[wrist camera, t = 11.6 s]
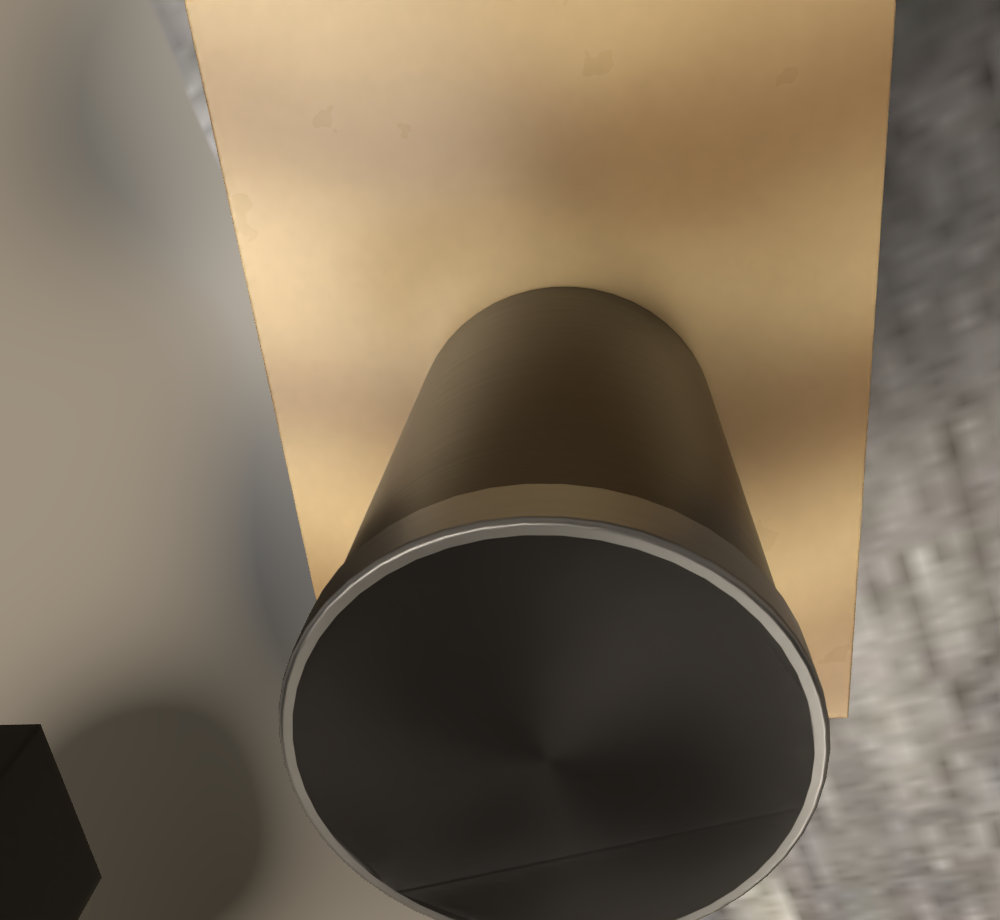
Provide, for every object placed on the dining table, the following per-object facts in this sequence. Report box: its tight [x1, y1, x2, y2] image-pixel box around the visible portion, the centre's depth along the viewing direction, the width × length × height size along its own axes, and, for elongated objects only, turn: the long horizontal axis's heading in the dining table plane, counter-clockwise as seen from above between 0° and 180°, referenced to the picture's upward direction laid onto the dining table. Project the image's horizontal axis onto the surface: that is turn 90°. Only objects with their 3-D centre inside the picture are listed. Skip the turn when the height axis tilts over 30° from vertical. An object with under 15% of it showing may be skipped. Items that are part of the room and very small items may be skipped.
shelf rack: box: [185, 0, 896, 718], centre depth 24 cm, size 36×14×13 cm, turn 6°
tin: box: [279, 287, 830, 920], centre depth 17 cm, size 7×7×11 cm
